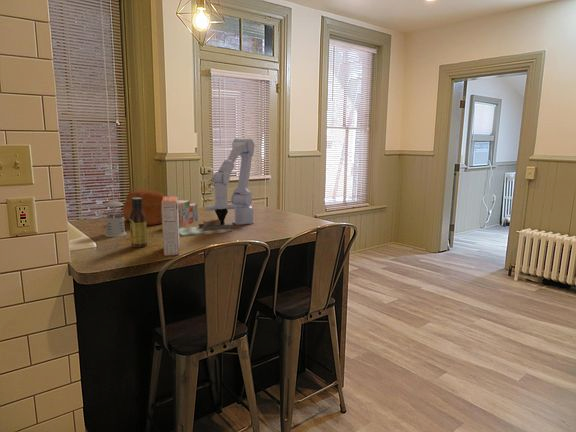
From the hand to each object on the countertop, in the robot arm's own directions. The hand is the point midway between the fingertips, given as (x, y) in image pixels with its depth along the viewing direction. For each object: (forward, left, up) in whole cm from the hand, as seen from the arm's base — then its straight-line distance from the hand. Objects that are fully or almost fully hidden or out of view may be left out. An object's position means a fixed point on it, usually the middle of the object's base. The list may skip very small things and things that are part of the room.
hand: (221, 224), depth 201 cm
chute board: (+9, 0, -2) cm, 10 cm away
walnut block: (+5, 0, -2) cm, 5 cm away
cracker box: (+31, +30, -3) cm, 43 cm away
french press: (+47, -10, -3) cm, 48 cm away
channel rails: (+4, 0, -2) cm, 4 cm away
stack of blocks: (+13, -21, -3) cm, 24 cm away
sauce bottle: (+41, +17, -3) cm, 45 cm away
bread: (+29, -33, -3) cm, 44 cm away
